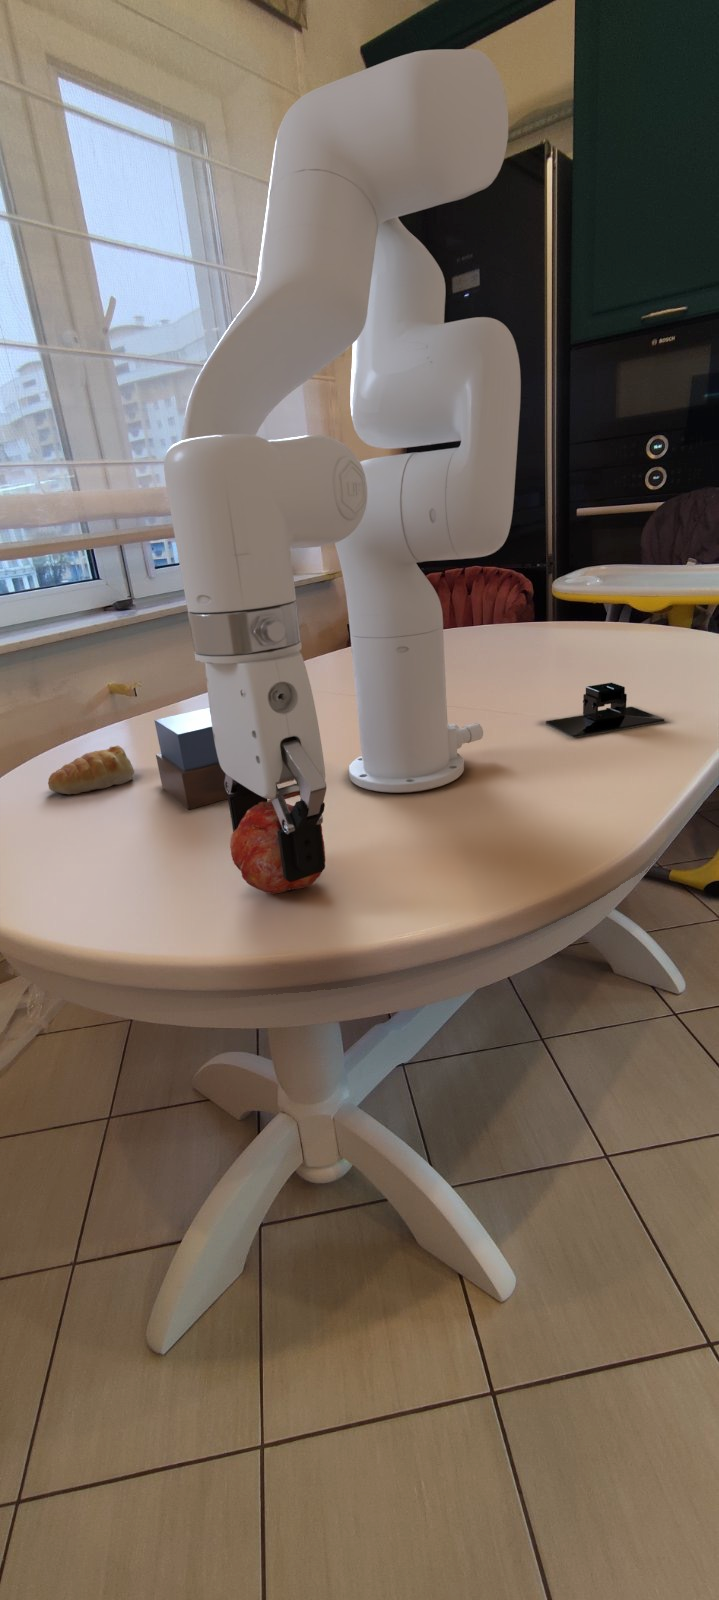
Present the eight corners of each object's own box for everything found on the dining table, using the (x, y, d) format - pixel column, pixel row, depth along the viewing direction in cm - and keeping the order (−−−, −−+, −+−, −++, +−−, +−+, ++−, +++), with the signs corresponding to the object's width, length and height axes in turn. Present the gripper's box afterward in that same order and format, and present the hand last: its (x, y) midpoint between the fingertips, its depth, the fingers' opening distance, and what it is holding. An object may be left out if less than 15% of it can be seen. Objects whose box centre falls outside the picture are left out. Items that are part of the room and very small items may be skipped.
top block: (227, 737, 85) (222, 704, 83) (255, 753, 78) (250, 717, 77) (161, 754, 81) (154, 719, 79) (184, 771, 75) (177, 734, 73)
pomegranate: (233, 905, 60) (228, 884, 51) (232, 820, 62) (226, 785, 53) (322, 900, 61) (333, 879, 52) (318, 817, 63) (327, 782, 54)
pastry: (61, 803, 81) (52, 771, 79) (43, 789, 86) (34, 759, 84) (140, 779, 86) (133, 748, 85) (119, 768, 91) (112, 739, 90)
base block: (235, 768, 87) (229, 736, 85) (266, 787, 80) (261, 753, 78) (162, 787, 83) (155, 754, 81) (188, 809, 75) (181, 774, 74)
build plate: (573, 739, 86) (574, 700, 84) (543, 724, 92) (543, 688, 91) (665, 721, 88) (667, 684, 86) (630, 708, 95) (631, 673, 93)
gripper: (356, 635, 45) (377, 879, 52) (246, 617, 60) (273, 810, 66) (246, 655, 42) (283, 914, 48) (157, 631, 56) (194, 834, 62)
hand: (277, 854), depth 57 cm, fingers open, 8 cm apart
